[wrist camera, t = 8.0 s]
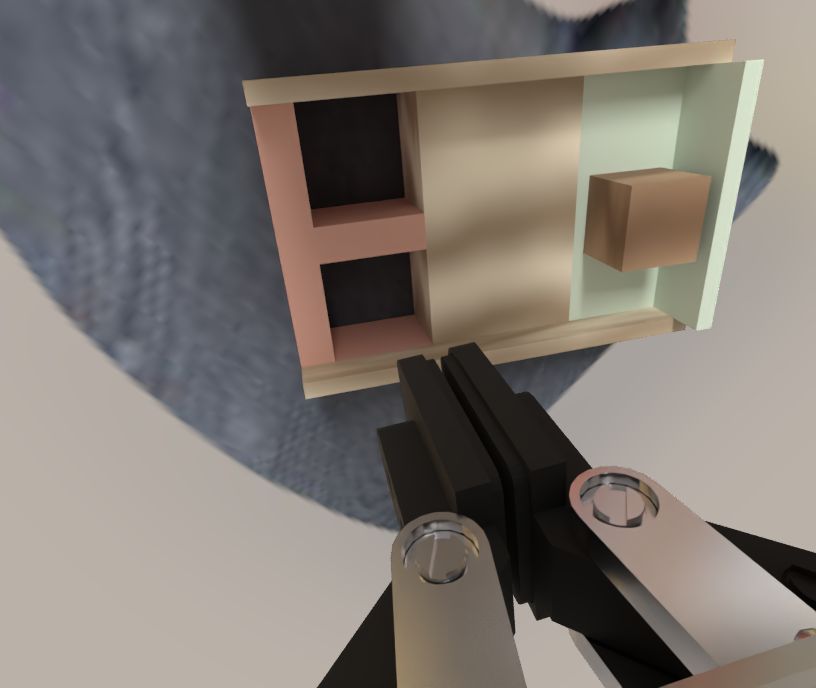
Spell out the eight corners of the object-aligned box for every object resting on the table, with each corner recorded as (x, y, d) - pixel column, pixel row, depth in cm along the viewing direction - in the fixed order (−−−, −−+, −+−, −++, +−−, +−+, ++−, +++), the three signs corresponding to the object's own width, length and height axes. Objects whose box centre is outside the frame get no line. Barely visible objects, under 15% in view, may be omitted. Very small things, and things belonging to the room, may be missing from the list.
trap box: (250, 84, 28) (238, 79, 20) (647, 50, 32) (769, 34, 24) (301, 346, 35) (307, 418, 27) (621, 293, 39) (708, 343, 31)
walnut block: (589, 175, 29) (632, 185, 26) (661, 167, 30) (711, 176, 26) (583, 252, 31) (621, 272, 28) (650, 243, 32) (695, 261, 28)
